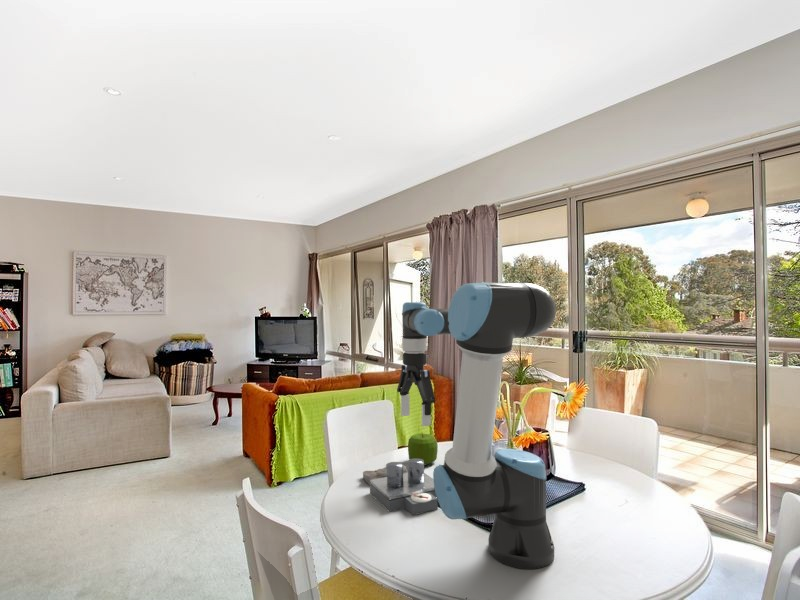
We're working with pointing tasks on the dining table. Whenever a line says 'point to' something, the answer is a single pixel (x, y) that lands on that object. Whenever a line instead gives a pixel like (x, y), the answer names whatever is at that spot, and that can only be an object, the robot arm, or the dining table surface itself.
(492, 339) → the robot arm
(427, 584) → the dining table surface
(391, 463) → the cylinder
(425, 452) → the apple
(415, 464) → the cylinder
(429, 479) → the platform
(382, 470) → the stone
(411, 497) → the scale
